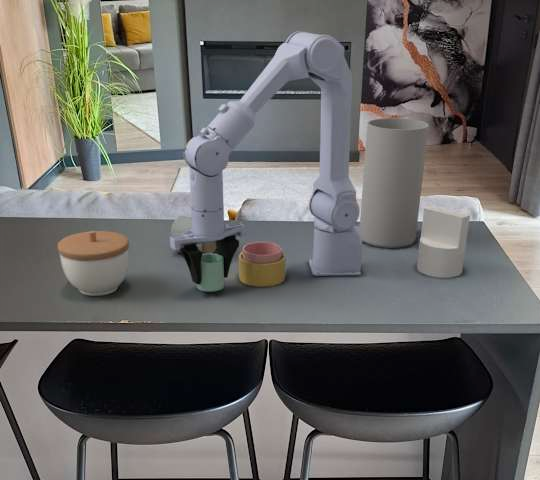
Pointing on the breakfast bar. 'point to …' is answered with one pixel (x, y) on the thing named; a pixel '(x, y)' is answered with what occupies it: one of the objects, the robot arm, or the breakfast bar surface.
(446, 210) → the base with upright slab
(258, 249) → the stack top
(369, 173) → the cylinder vase
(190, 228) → the ceramic mug
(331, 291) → the breakfast bar surface
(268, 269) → the stack bottom
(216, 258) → the mint cup
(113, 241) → the lidded bowl
